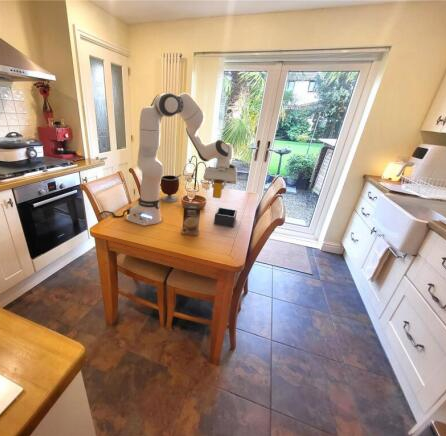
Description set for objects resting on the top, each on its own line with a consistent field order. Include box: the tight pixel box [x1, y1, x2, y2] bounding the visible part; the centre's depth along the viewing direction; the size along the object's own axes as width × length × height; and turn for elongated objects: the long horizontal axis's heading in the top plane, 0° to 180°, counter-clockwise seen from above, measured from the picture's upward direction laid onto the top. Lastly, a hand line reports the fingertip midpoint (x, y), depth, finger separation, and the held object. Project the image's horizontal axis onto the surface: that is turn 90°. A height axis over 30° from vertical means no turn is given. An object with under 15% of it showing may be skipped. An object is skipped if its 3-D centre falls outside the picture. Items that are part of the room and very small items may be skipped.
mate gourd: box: [160, 174, 182, 203], centre depth 176 cm, size 16×14×20 cm
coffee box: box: [181, 203, 201, 236], centre depth 129 cm, size 9×6×16 cm
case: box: [213, 207, 238, 228], centre depth 145 cm, size 12×12×7 cm
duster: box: [212, 180, 224, 199], centre depth 140 cm, size 5×5×10 cm
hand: (217, 187), depth 139 cm, fingers closed on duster, 4 cm apart
